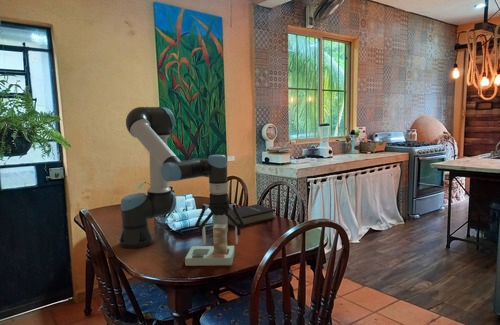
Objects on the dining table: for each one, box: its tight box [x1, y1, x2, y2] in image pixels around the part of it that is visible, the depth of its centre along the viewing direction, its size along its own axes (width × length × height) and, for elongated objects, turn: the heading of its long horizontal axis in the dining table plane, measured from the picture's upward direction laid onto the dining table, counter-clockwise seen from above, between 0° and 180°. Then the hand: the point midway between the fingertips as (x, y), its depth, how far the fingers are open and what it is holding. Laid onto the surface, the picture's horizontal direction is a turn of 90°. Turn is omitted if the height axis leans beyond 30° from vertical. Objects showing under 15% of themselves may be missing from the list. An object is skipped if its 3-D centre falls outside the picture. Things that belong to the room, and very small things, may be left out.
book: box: [227, 203, 276, 229], centre depth 201 cm, size 28×20×6 cm
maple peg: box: [212, 224, 228, 255], centre depth 144 cm, size 5×5×14 cm
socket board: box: [184, 245, 235, 267], centre depth 145 cm, size 19×14×4 cm
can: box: [212, 214, 229, 233], centre depth 177 cm, size 8×8×12 cm
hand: (220, 242), depth 144 cm, fingers open, 13 cm apart
